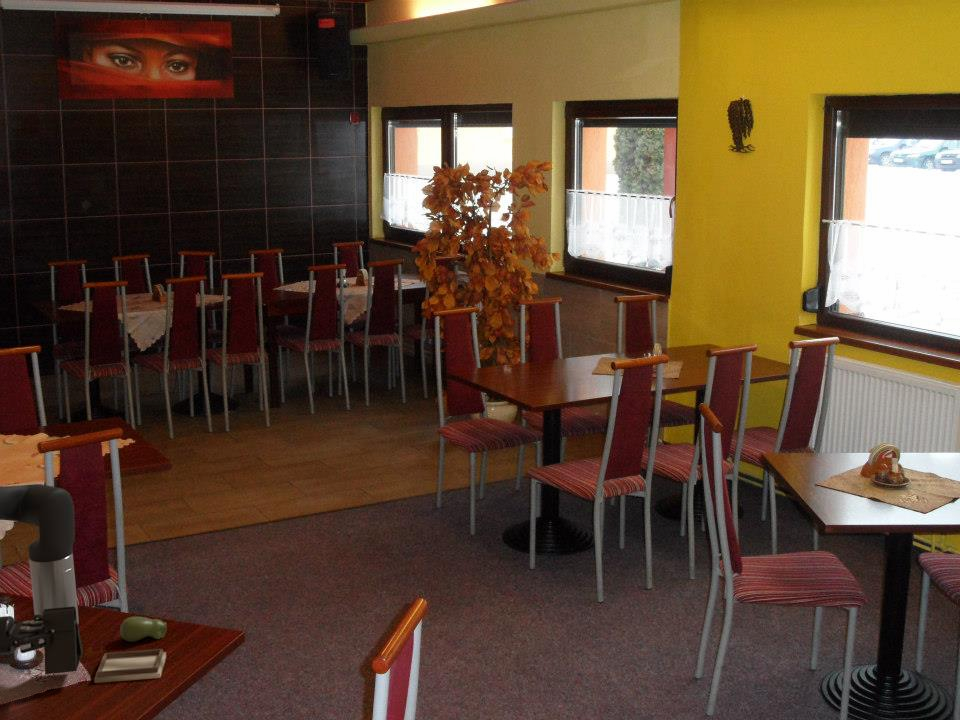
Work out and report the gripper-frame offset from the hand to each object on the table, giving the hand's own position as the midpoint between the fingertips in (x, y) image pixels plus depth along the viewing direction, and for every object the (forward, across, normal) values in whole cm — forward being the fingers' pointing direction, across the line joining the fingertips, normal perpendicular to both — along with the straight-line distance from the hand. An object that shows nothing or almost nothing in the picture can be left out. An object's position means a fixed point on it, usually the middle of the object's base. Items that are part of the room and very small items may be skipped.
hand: (76, 629), depth 231 cm
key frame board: (+10, +2, +10) cm, 14 cm away
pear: (+10, +17, +11) cm, 23 cm away
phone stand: (-3, 0, +7) cm, 8 cm away
